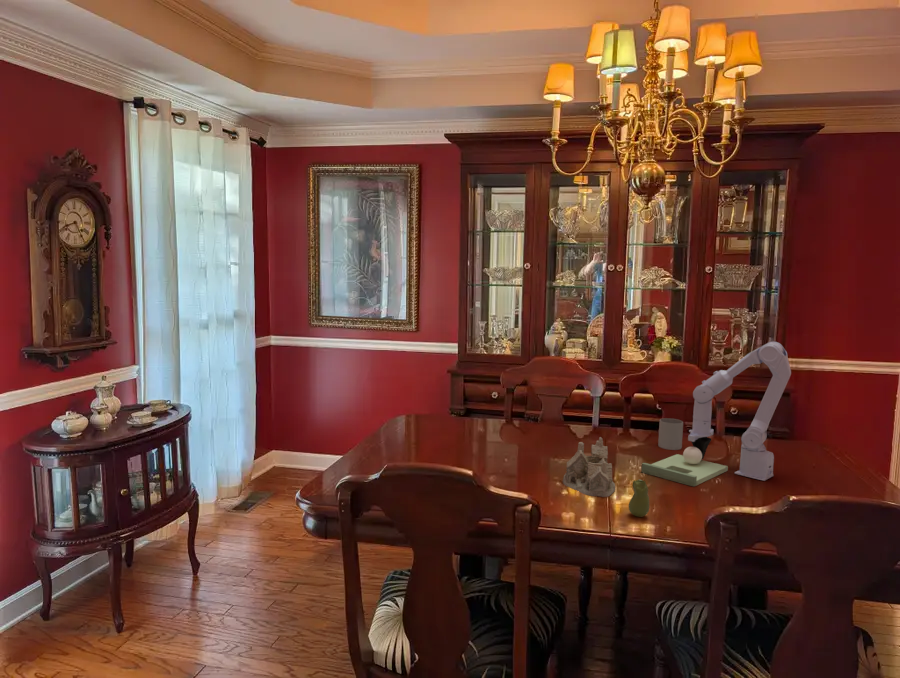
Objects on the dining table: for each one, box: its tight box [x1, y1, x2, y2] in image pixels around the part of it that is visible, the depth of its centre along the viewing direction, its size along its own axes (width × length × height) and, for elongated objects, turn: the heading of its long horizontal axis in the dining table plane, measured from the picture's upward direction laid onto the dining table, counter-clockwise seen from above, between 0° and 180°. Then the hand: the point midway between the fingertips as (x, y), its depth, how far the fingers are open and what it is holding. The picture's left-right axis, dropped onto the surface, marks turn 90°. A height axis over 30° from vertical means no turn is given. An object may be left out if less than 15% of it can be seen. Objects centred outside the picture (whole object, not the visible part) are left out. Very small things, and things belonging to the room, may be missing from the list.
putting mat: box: [640, 453, 729, 488], centre depth 207 cm, size 18×24×3 cm
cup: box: [657, 417, 684, 451], centre depth 236 cm, size 8×8×10 cm
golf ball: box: [682, 445, 703, 465], centre depth 210 cm, size 6×6×6 cm
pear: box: [628, 479, 650, 518], centre depth 169 cm, size 6×5×10 cm
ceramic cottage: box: [562, 436, 616, 498], centre depth 191 cm, size 16×16×15 cm
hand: (699, 458), depth 214 cm, fingers closed
